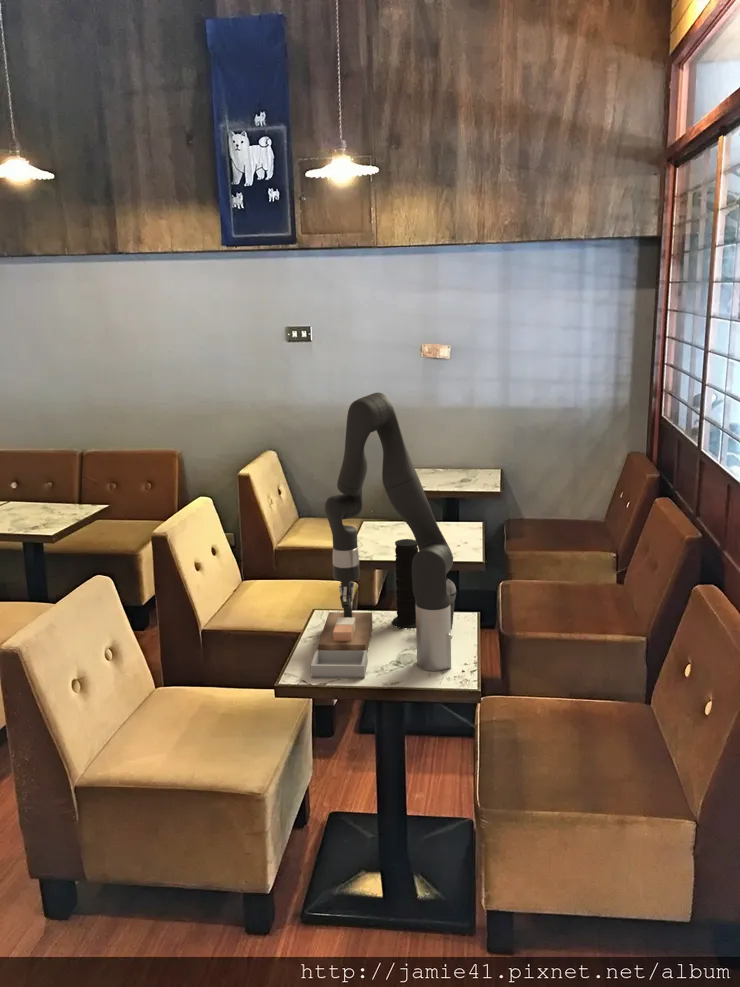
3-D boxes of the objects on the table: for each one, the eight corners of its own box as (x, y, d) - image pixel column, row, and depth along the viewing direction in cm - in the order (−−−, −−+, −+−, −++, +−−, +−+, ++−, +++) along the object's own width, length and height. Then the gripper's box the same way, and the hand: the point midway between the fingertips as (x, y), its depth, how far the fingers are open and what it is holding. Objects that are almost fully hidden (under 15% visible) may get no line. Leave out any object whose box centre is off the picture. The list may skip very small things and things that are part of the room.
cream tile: (355, 625, 235) (355, 617, 234) (353, 632, 230) (353, 624, 229) (338, 625, 235) (337, 617, 235) (336, 632, 230) (335, 624, 230)
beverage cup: (429, 632, 241) (428, 567, 236) (435, 622, 248) (434, 559, 243) (454, 634, 239) (453, 569, 234) (458, 624, 246) (458, 561, 241)
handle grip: (409, 613, 256) (385, 622, 249) (407, 532, 249) (382, 539, 243) (431, 622, 248) (407, 631, 242) (430, 538, 242) (405, 546, 236)
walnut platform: (372, 628, 245) (372, 612, 244) (365, 661, 223) (365, 644, 222) (329, 627, 246) (329, 612, 245) (318, 661, 224) (317, 644, 223)
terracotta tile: (353, 633, 229) (353, 625, 229) (351, 640, 225) (351, 632, 224) (335, 633, 230) (335, 625, 229) (333, 640, 225) (333, 632, 224)
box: (367, 662, 223) (367, 650, 222) (364, 678, 213) (364, 666, 212) (316, 661, 224) (316, 650, 223) (311, 677, 215) (310, 665, 214)
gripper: (356, 570, 226) (358, 628, 230) (361, 555, 239) (363, 610, 243) (329, 570, 227) (332, 628, 231) (335, 555, 240) (338, 610, 244)
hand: (348, 619), depth 237 cm, fingers closed
